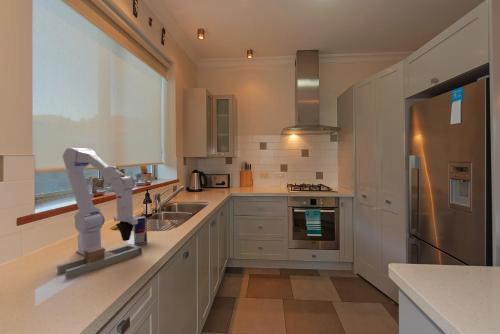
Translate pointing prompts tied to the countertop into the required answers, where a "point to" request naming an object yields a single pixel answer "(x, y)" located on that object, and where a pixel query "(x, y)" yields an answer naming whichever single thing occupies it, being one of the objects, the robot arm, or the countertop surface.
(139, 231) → the energy drink
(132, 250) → the channel
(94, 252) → the block
